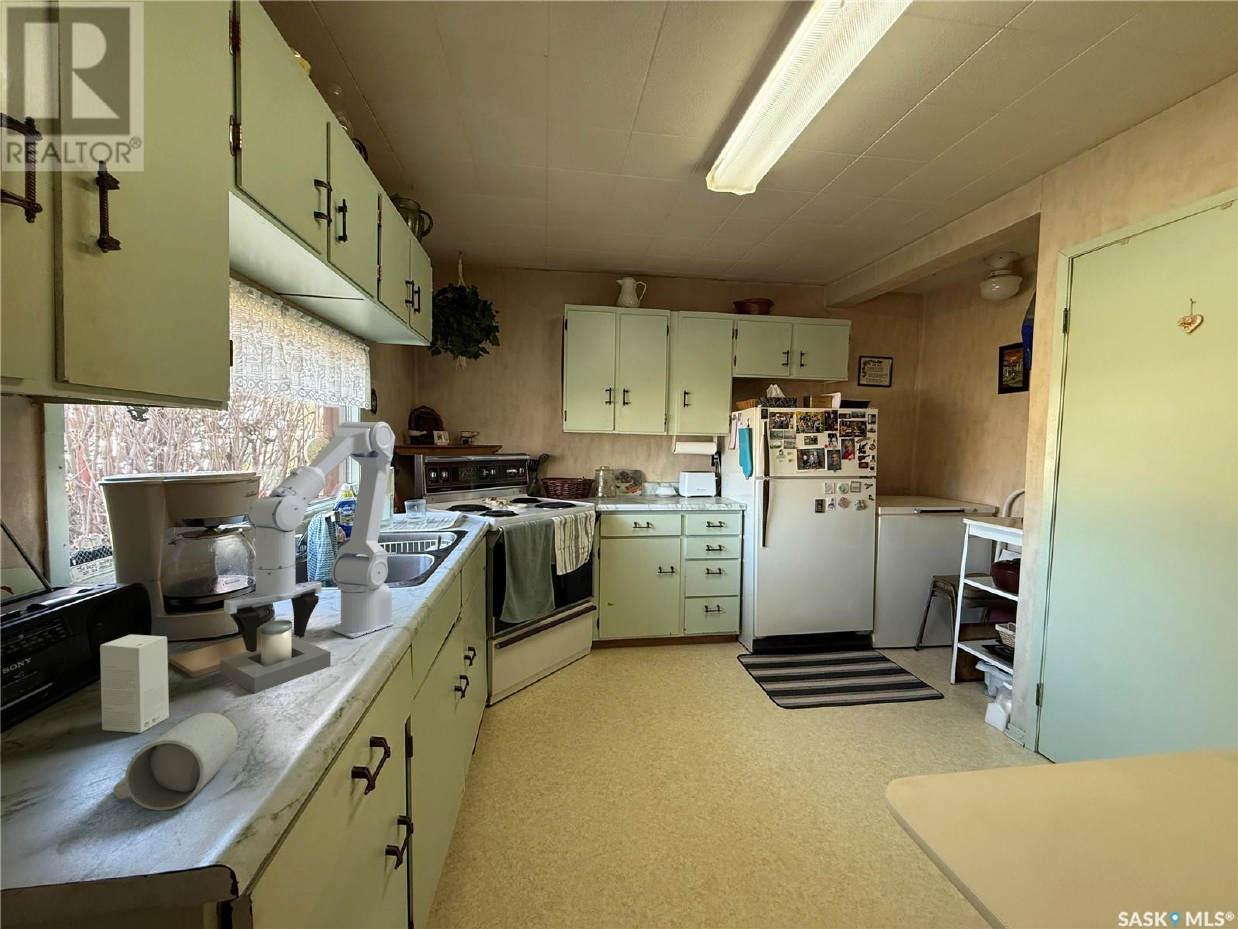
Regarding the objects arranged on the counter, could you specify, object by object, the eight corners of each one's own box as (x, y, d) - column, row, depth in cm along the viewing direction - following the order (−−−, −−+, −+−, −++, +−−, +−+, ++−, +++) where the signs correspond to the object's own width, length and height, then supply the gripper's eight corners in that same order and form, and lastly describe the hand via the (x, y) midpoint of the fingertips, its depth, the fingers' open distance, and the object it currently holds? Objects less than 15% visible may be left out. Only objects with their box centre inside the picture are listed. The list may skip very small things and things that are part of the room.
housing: (295, 649, 97) (294, 637, 97) (330, 665, 91) (330, 652, 91) (220, 673, 87) (220, 659, 86) (254, 693, 80) (254, 678, 80)
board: (258, 637, 102) (258, 632, 102) (283, 649, 97) (283, 644, 97) (169, 662, 90) (169, 657, 90) (193, 677, 85) (193, 671, 85)
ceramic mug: (244, 761, 64) (242, 701, 64) (203, 807, 56) (201, 739, 56) (147, 770, 62) (145, 709, 62) (90, 819, 54) (87, 749, 54)
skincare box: (170, 717, 73) (169, 636, 73) (139, 734, 69) (138, 648, 68) (132, 714, 74) (130, 633, 73) (99, 731, 70) (97, 645, 69)
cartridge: (284, 661, 92) (283, 618, 91) (297, 668, 89) (297, 623, 89) (255, 671, 88) (254, 626, 87) (268, 678, 85) (268, 631, 85)
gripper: (238, 578, 79) (238, 663, 80) (331, 561, 92) (330, 635, 92) (217, 571, 83) (218, 653, 84) (309, 555, 96) (309, 627, 96)
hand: (276, 643), depth 88 cm, fingers open, 7 cm apart
